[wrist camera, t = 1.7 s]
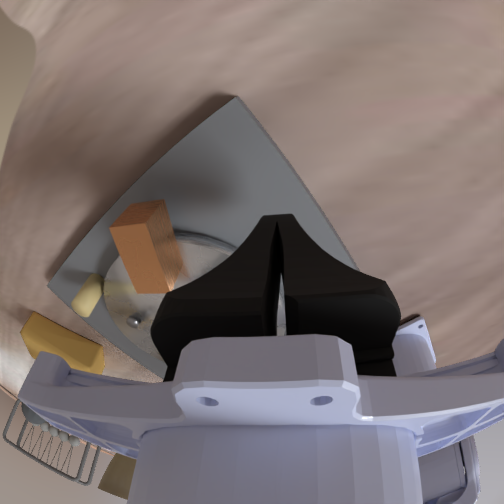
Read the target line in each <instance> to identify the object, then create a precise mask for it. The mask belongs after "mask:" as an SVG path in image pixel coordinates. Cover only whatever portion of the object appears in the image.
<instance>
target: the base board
mask: <svg viewBox="0 0 504 504" xmlns="http://www.w3.org/2000/svg"><path fill="white" fill-rule="evenodd" d="M160 199H165V203H166V206H167V210H168V214H169V217H170V221H171V224H172V228H173V231H174V233H188V234H196V235H201V236H205V237H209V238H212V239H215V240H219V241H222V242H224V243H226V244H228V245H231V246H233V247H235V248H237V249H238V247H239V246H240V245H241V244H242V243H243V242H244V241H245V239H246V238H247V237H248V236H249V234H250V233H251V232H252V230H253V229H254V227H255V226H256V225H257V223H258V221H259V220H260V218H261V217H262V216H263V215H275V214H291V213H292V214H293V215H294V216H295V218H296V220H297V221H298V223H299V224H300V225H301V227H302V228H303V229H304V230H305V232H306V233H307V234H308V235H309V236H310V237H311V238H312V239H313V240H314V241H315V242H316V243H317V244H318V245H319V246H320V247H321V248H322V249H323V250H325V251H326V252H327V253H328V254H330V255H331V256H333V257H334V258H336V259H337V260H339V261H340V262H342V263H344V264H345V265H347V266H349V267H351V268H353V269H355V270H357V271H359V269H358V267H357V266H356V264H355V262H354V260H353V259H352V257H351V255H350V254H349V252H348V250H347V249H346V247H345V246H344V244H343V242H342V241H341V239H340V237H339V236H338V234H337V233H336V231H335V229H334V228H333V226H332V225H331V223H330V222H329V220H328V218H327V217H326V215H325V214H324V212H323V211H322V209H321V208H320V206H319V205H318V203H317V202H316V200H315V199H314V197H313V196H312V194H311V193H310V191H309V190H308V188H307V187H306V185H305V184H304V183H303V181H302V180H301V178H300V177H299V175H298V174H297V173H296V171H295V170H294V168H293V167H292V166H291V164H290V163H289V161H288V160H287V159H286V157H285V156H284V154H283V153H282V152H281V150H280V149H279V148H278V146H277V145H276V144H275V142H274V141H273V140H272V138H271V137H270V136H269V134H268V133H267V132H266V130H265V129H264V128H263V127H262V125H261V124H260V123H259V121H258V120H257V119H256V118H255V116H254V115H253V114H252V112H251V111H250V110H249V109H248V107H247V106H246V105H245V104H244V103H243V101H242V100H241V99H240V98H239V96H237V97H235V98H233V99H232V100H231V101H229V102H228V103H227V104H225V105H224V106H223V107H221V108H220V109H219V110H217V111H216V112H215V113H214V114H212V115H211V116H210V117H208V118H207V119H206V120H205V121H203V122H202V123H201V124H200V125H198V126H197V127H196V128H195V129H193V130H192V131H191V132H190V133H189V134H187V135H186V136H185V137H184V138H183V139H182V140H180V141H179V142H178V143H177V144H176V145H175V146H174V147H172V148H171V149H170V150H169V151H168V152H167V153H166V154H165V155H163V156H162V157H161V158H160V159H159V160H158V161H157V162H156V163H155V164H154V165H153V166H152V167H150V168H149V169H148V170H147V171H146V172H145V173H144V174H143V175H142V176H141V177H140V178H139V179H138V180H137V181H136V182H135V183H134V184H133V185H132V186H131V187H130V188H129V189H128V190H127V191H126V192H125V193H124V194H123V195H122V196H121V197H120V198H119V199H118V200H117V201H116V202H115V203H114V205H113V206H112V207H111V208H110V209H109V210H108V211H107V212H106V213H105V214H104V215H103V217H102V218H101V219H100V220H99V221H98V222H97V223H96V224H95V226H94V227H93V228H92V229H91V230H90V231H89V232H88V234H87V235H86V236H85V237H84V238H83V240H82V241H81V242H80V243H79V244H78V246H77V247H76V248H75V249H74V251H73V252H72V253H71V254H70V256H69V257H68V258H67V259H66V261H65V262H64V263H63V265H62V266H61V267H60V268H59V270H58V271H57V272H56V274H55V275H54V276H53V278H52V279H51V281H50V282H49V283H48V285H47V287H48V288H49V289H51V290H52V291H53V292H54V293H55V294H56V295H57V296H58V297H59V298H60V299H61V300H62V301H63V302H64V303H65V304H66V305H67V306H68V307H70V308H71V309H72V310H73V311H74V312H75V313H76V314H77V315H79V316H80V317H81V318H82V319H83V320H84V321H85V322H87V323H88V324H89V325H90V326H91V327H93V328H94V329H95V330H96V331H97V332H99V333H100V334H101V335H102V336H104V337H105V338H106V339H107V340H109V341H110V342H111V343H113V344H114V345H115V346H117V347H118V348H119V349H120V350H122V351H123V352H125V353H126V354H127V355H129V356H130V357H131V358H133V359H134V360H136V361H137V362H138V363H140V364H141V365H143V366H144V367H146V368H147V369H148V370H150V371H151V372H153V373H154V374H156V375H157V376H159V377H161V378H162V379H164V377H165V373H166V370H167V365H166V363H165V362H163V361H161V360H159V359H157V358H155V357H153V356H151V355H150V354H148V353H146V352H145V351H143V350H142V349H140V348H139V347H137V346H136V345H135V344H134V343H132V342H131V341H130V340H129V339H128V338H127V337H126V336H125V335H124V334H123V333H122V332H121V331H120V329H119V328H118V327H117V325H116V324H115V323H114V321H113V320H112V318H111V316H110V314H109V312H108V309H107V306H106V303H105V299H104V282H105V278H106V275H107V272H108V270H109V269H110V267H111V265H112V264H113V262H114V261H115V260H116V258H117V257H118V255H119V252H118V249H117V247H116V244H115V242H114V239H113V237H112V234H111V232H110V229H109V227H110V226H111V225H112V224H113V223H114V222H115V221H116V219H117V218H118V217H119V216H120V215H121V214H122V213H123V212H124V211H125V210H126V209H127V207H128V206H129V205H130V204H133V203H139V202H146V201H153V200H160ZM280 291H281V293H282V296H283V299H284V288H283V281H282V275H281V282H280ZM284 336H286V329H285V333H284Z"/></svg>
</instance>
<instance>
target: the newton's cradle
mask: <svg viewBox="0 0 504 504" xmlns="http://www.w3.org/2000/svg"><path fill="white" fill-rule="evenodd" d="M20 402H21V400H20V399H18V400H17V401H16V403H15V405H14V407H13V410H12V412H11V414H10V417H9V419H8V422H7V424H6V426H5V429H4V432H3V438H4V440H5V441H6V442H7V443H9V444H10V445H12V446H13V447H15V448H16V449H17V450H19V451H20V452H22V453H23V454H25V455H27V456H28V457H30V458H31V459H33V460H35V461H36V462H38V463H40V464H41V465H43V466H45V467H46V468H48V469H50V470H52V471H54V472H56V473H57V474H59V475H61V476H63V477H65V478H67V479H69V480H71V481H75V482H77V483H80V484H82V485H85V486H88V485H90V483H91V481H92V477H93V474H94V470H95V467H96V463H97V459H98V456H99V453H100V450H101V447H100V446H98V447H97V450H96V454H95V457H94V460H93V464H92V467H91V471H90V475H89V478H88V481H87V482H82V481H80V478H81V475H82V471H83V467H84V464H85V461H86V458H87V454H88V451H89V448H90V445H91V443H90V442H88V441H87V444H86V447H85V451H84V454H83V457H82V460H81V464H80V467H79V470H78V474H77V477H76V478H74V477H71V476H69V475H67V474H65V473H63V472H61V471H59V470H57V468H54V467H52V466H51V465H48V464H47V463H45V462H43V461H41V459H38V457H37V458H36V457H35V456H33V455H31V454H30V453H29V452H26V451H25V450H23V449H22V448H21V447H20V442H21V439H22V436H23V433H24V430H25V428H26V426H27V423H28V420H27V419H26V420H25V422H24V425H23V427H22V430H21V432H20V435H19V438H18V441H17V445H15V444H14V443H12V442H11V441H9V440H8V439H7V438H6V433H7V431H8V428H9V426H10V423H11V421H12V418H13V416H14V414H15V411H16V409H17V407H18V404H19V403H20ZM32 424H33V423H32ZM33 425H34V426H39V425H40V427H41V429H42V430H43V431H42V432H44V431H49V432H50V434H51V435H52V436H58V435H59V438H60V439H61V440H62V442H63V441H68V440H69V442H70V444H71V445H72V446H78V445H79V444H80V440H79V438H78V437H76V436H74V435H71V436H69V434H68V433H67V432H64V431H62V430H61V431H60V430H59V429H58V428H56V427H54V426H50V424H49V423H48V422H47V421H45V422H44V423H42V424H38V425H37V424H33ZM32 427H33V426H32ZM31 429H32V428H31ZM33 429H34V428H33ZM28 435H29V434H28ZM26 439H27V438H26ZM50 439H51V438H50ZM52 439H53V438H52ZM25 441H26V440H25ZM41 441H42V440H41ZM48 443H49V442H48ZM51 443H52V441H51ZM23 446H24V444H23ZM59 446H60V445H59ZM61 447H62V446H61ZM72 448H73V447H72ZM57 450H58V449H57ZM32 451H33V450H32ZM69 451H70V450H69ZM44 452H45V450H44ZM31 453H32V452H31ZM56 453H57V452H56ZM43 454H44V453H43ZM42 456H43V455H42ZM48 456H49V455H48ZM54 457H55V456H54ZM70 457H71V455H70ZM47 460H48V459H47ZM64 463H65V462H64ZM57 466H58V464H57ZM68 467H69V466H68ZM62 468H63V467H62ZM61 470H62V469H61Z"/></svg>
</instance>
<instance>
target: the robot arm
mask: <svg viewBox="0 0 504 504" xmlns="http://www.w3.org/2000/svg"><path fill="white" fill-rule="evenodd" d="M281 275H282V281H283V288H284V303H285V319H286V336H277V314H278V303H279V293H280V282H281ZM400 319H401V313H400V308H399V306H398V303H397V301H396V299H395V297H394V295H393V293H392V291H391V290H390V288H389V287H388V285H387V283H386V281H383V280H381V279H378V278H375V277H372V276H369V275H366V274H364V273H362V272H360V271H357V270H355V269H353V268H351V267H349V266H347V265H345V264H344V263H342V262H340V261H339V260H337V259H336V258H334V257H333V256H331V255H330V254H328V253H327V252H326V251H325V250H323V249H322V248H321V247H320V246H319V245H318V244H317V243H316V242H315V241H314V240H313V239H312V238H311V237H310V236H309V235H308V234H307V233H306V232H305V230H304V229H303V228H302V227H301V225H300V224H299V223H298V221H297V220H296V218H295V216H294V215H293V214H292V213H291V214H275V215H263V216H262V217H261V218H260V220H259V221H258V223H257V225H256V226H255V227H254V229H253V230H252V232H251V233H250V234H249V236H248V237H247V238H246V239H245V241H244V242H243V243H242V244H241V245H240V246H239V247H238V249H237V250H236V251H235V252H234V253H233V254H231V255H230V256H229V257H228V258H227V259H226V260H224V261H223V262H222V263H220V264H219V265H218V266H216V267H215V268H213V269H212V270H211V271H209V272H208V273H206V274H204V275H203V276H201V277H199V278H197V279H195V280H194V281H192V282H190V283H188V284H186V285H183V286H181V287H179V288H176V289H174V290H172V291H169V292H167V293H166V294H165V296H164V298H163V300H162V302H161V303H160V306H159V308H158V310H157V313H156V316H155V318H154V321H153V323H152V326H151V328H150V336H151V339H152V341H153V343H154V345H155V347H156V349H157V350H158V352H159V354H160V355H161V357H162V359H163V360H164V362H165V363H166V365H167V370H166V373H165V377H164V380H163V382H160V383H148V382H140V381H134V380H127V379H121V378H115V377H110V376H105V375H100V374H95V373H90V372H85V371H81V370H77V369H72V368H70V366H69V364H68V363H67V362H66V361H65V360H64V359H63V358H62V357H60V356H59V355H56V354H52V353H48V352H44V351H40V353H39V354H38V356H37V358H36V360H35V362H34V364H33V366H32V368H31V369H30V371H29V373H28V375H27V377H26V379H25V381H24V383H23V385H22V387H21V390H20V392H19V394H18V398H19V399H20V400H21V401H22V402H23V403H24V404H25V405H27V406H28V407H29V408H30V409H32V410H33V411H34V412H35V413H36V414H38V415H39V416H40V417H42V418H43V419H44V420H46V421H47V422H48V423H50V424H51V425H52V426H54V427H56V428H58V429H60V430H62V431H64V432H67V433H69V434H71V435H74V436H76V437H78V438H81V439H83V440H86V441H88V442H90V443H93V444H95V445H98V446H100V447H103V448H105V449H108V450H111V451H113V452H116V453H119V454H122V455H125V456H128V457H131V458H134V459H137V461H136V465H135V469H134V473H133V478H132V482H131V487H130V491H129V496H128V501H127V504H475V503H476V501H477V500H478V495H479V493H480V492H481V490H480V481H479V476H480V467H479V460H478V454H477V449H476V445H475V440H474V436H473V435H474V434H476V433H478V432H480V431H482V430H484V429H486V428H488V427H490V426H492V425H494V424H495V423H497V422H499V421H501V420H503V419H504V339H503V340H502V341H501V342H500V343H499V344H498V346H497V347H496V349H495V351H494V352H492V353H489V354H486V355H483V356H480V357H477V358H473V359H470V360H467V361H463V362H460V363H456V364H453V365H449V366H445V367H441V368H436V365H435V362H436V358H435V354H434V351H433V347H432V344H431V340H430V337H429V333H428V330H427V327H426V324H425V321H424V318H423V317H417V318H415V319H413V320H411V321H409V322H407V323H405V324H403V325H401V326H399V324H400ZM458 441H459V442H460V443H459V442H458ZM463 466H464V467H465V474H464V469H463Z"/></svg>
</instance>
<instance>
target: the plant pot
mask: <svg viewBox="0 0 504 504" xmlns="http://www.w3.org/2000/svg"><path fill="white" fill-rule="evenodd" d="M136 461H137V459H134V458H131V457H128V456H125V455H122V454H119V453H116V454H115V455H114V457H113V459H112V460H111V462H110V464H109V465H108V467H107V469H106V471H105V473H104V475H103V477H102V479H101V482H100V484H99V486H98V488H99V489H101V490H103V491H105V492H108V493H110V494H113V495H116V496H118V497H121V498H124V499H127V500H128V496H129V491H130V487H131V482H132V478H133V473H134V469H135V465H136Z"/></svg>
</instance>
